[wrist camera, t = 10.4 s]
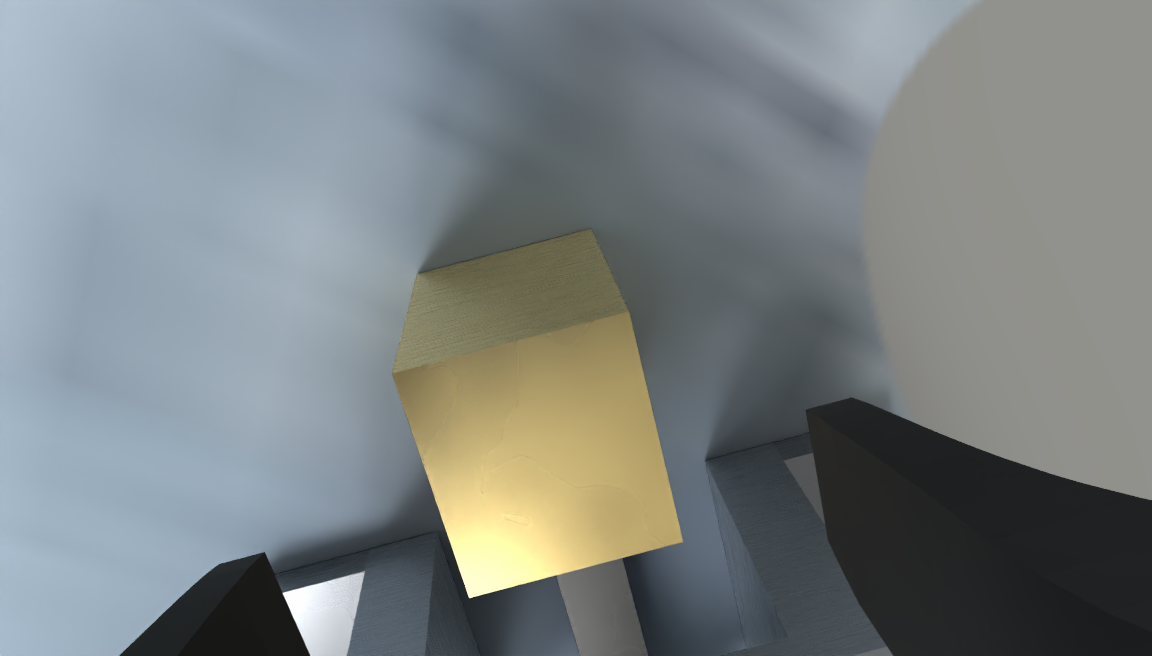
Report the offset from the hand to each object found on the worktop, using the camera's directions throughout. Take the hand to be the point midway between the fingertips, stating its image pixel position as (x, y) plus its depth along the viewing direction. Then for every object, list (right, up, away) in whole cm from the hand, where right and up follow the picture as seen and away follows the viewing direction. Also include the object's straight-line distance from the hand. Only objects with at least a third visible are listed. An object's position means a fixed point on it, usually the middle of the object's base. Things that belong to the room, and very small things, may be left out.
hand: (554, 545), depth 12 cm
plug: (+1, -2, +8) cm, 9 cm away
